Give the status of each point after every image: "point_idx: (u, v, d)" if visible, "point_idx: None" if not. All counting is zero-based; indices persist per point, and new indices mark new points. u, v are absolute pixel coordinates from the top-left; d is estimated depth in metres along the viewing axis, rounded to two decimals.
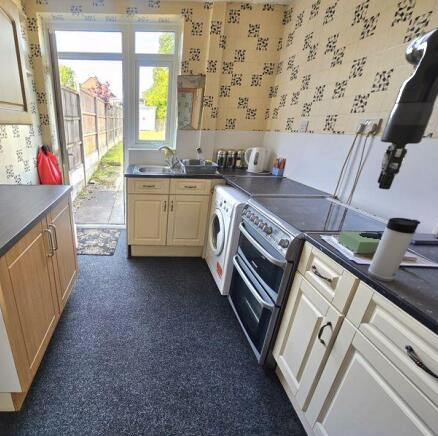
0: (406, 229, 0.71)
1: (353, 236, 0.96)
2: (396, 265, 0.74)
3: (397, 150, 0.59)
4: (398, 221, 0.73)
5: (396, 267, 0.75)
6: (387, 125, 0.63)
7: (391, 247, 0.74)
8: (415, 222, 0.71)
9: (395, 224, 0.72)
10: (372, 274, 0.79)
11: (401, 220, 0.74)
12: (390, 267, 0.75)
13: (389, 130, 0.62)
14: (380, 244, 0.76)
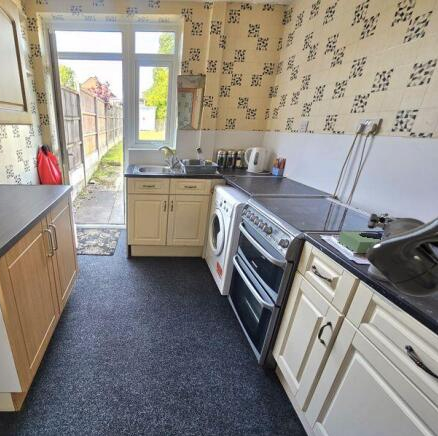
0: None
1: (353, 236, 0.96)
2: None
3: None
4: None
5: None
6: None
7: None
8: None
9: None
10: (372, 274, 0.79)
11: None
12: None
13: None
14: None
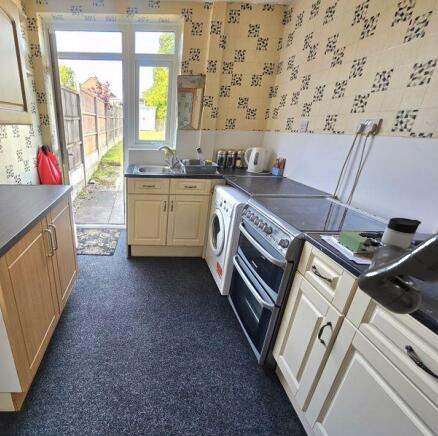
0: (407, 229, 0.70)
1: (353, 236, 0.96)
2: None
3: None
4: (399, 221, 0.73)
5: None
6: None
7: None
8: (416, 222, 0.71)
9: (396, 224, 0.72)
10: None
11: (402, 220, 0.74)
12: None
13: None
14: None
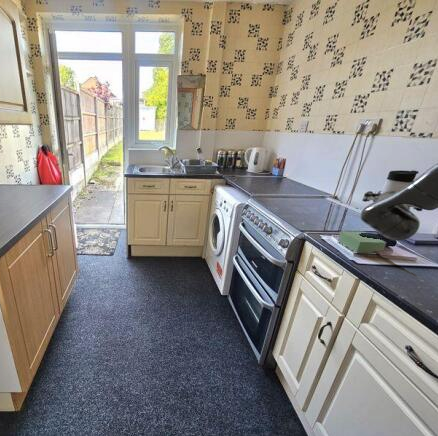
0: (406, 178, 0.76)
1: (353, 236, 0.96)
2: None
3: (422, 208, 0.72)
4: (398, 172, 0.79)
5: None
6: None
7: None
8: (414, 172, 0.77)
9: (395, 174, 0.77)
10: None
11: (401, 172, 0.79)
12: None
13: None
14: None
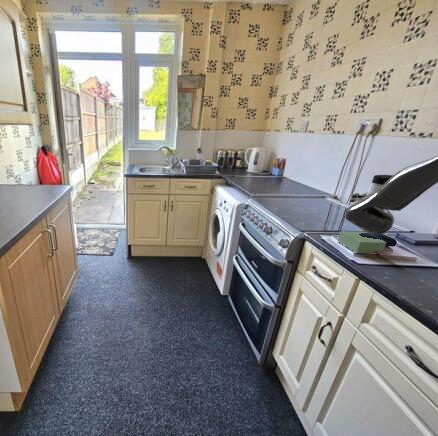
0: None
1: (353, 236, 0.96)
2: None
3: None
4: (381, 176, 0.89)
5: None
6: None
7: None
8: None
9: (378, 178, 0.87)
10: None
11: (383, 176, 0.89)
12: None
13: None
14: None
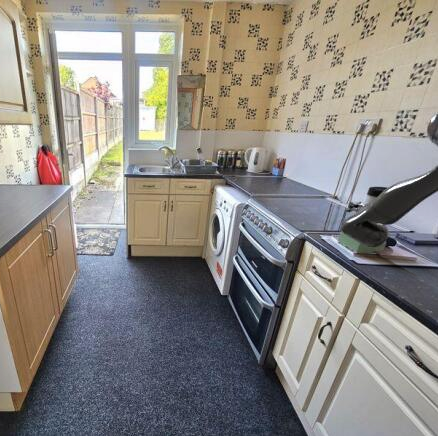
0: None
1: None
2: None
3: None
4: (376, 189, 0.90)
5: None
6: None
7: None
8: None
9: (373, 191, 0.89)
10: None
11: (378, 188, 0.91)
12: None
13: None
14: None
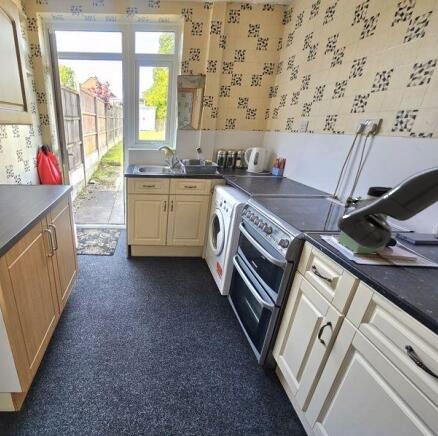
0: (382, 194, 0.87)
1: None
2: None
3: None
4: (376, 189, 0.90)
5: None
6: None
7: None
8: (389, 189, 0.88)
9: (373, 191, 0.89)
10: None
11: (379, 188, 0.91)
12: None
13: None
14: None
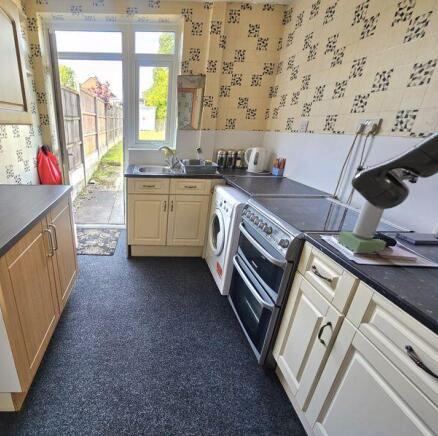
0: None
1: (353, 236, 0.96)
2: (375, 225, 0.91)
3: (416, 180, 0.68)
4: None
5: (375, 227, 0.92)
6: None
7: (371, 209, 0.90)
8: None
9: None
10: (356, 234, 0.96)
11: None
12: (370, 227, 0.92)
13: None
14: (362, 209, 0.93)
